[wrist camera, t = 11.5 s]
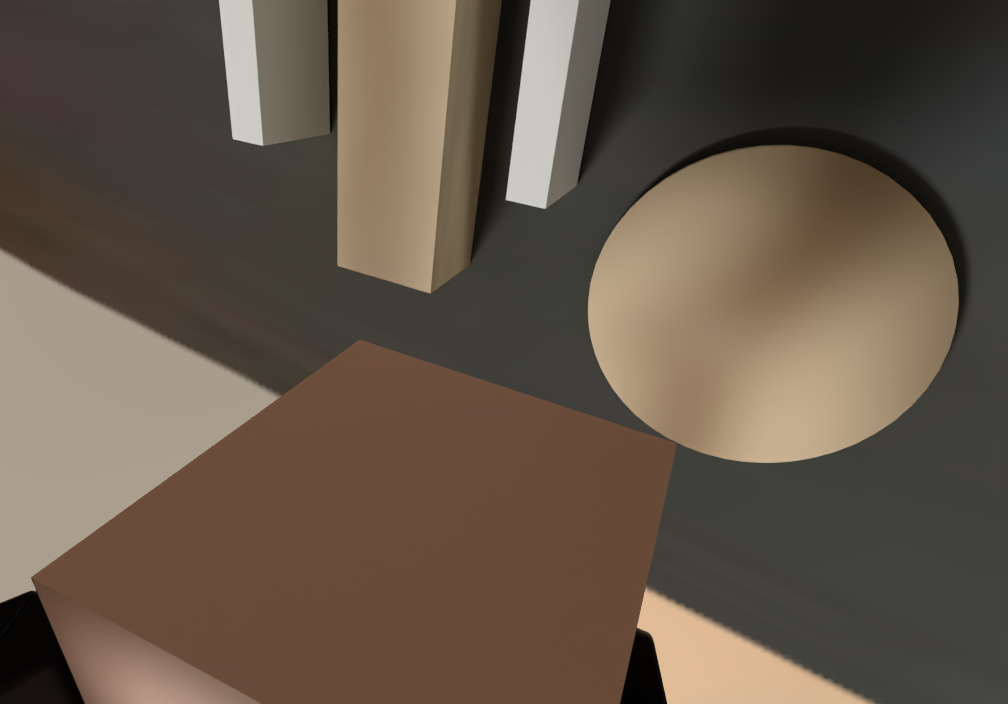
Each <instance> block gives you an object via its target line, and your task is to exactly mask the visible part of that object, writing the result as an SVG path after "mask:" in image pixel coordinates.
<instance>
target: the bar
mask: <svg viewBox="0 0 1008 704" xmlns="http://www.w3.org/2000/svg"><path fill="white" fill-rule="evenodd" d="M501 4H502V0H338V266H340V267H343V268H347V269H350V270H354V271H357V272H360V273H364V274H367V275H370V276H374V277H377V278H380V279H384V280H387V281H391V282H394V283H397V284H401V285H404V286H407V287H411V288H414V289H417V290H421V291H424V292H427V293H432V292H433V291H434V290H436V289H437V288H438V287H440V286H441V285H443V284H444V283H445V282H447V281H448V280H449V279H451V278H452V277H453V276H455V275H456V274H457V273H459V272H460V271H461V270H463V269H464V268H466V267H467V266H468V265H470V260H471V252H472V243H473V235H474V227H475V219H476V210H477V202H478V194H479V186H480V177H481V169H482V161H483V153H484V144H485V136H486V128H487V120H488V111H489V103H490V95H491V87H492V78H493V70H494V62H495V54H496V45H497V37H498V29H499V21H500V12H501Z"/></svg>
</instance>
